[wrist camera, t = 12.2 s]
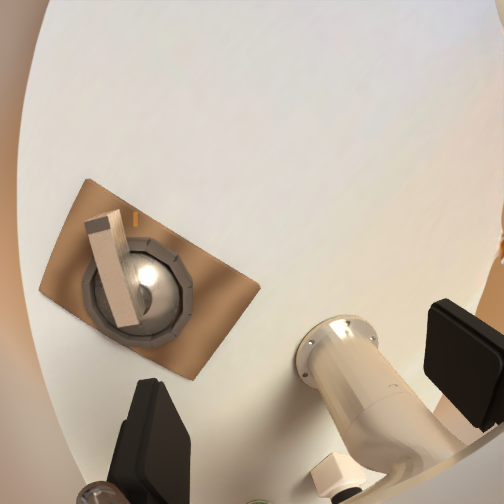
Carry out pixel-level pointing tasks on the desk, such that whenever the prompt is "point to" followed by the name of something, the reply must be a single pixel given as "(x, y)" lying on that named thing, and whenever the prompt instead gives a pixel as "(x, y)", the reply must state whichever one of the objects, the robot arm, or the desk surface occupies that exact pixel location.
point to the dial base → (170, 252)
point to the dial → (130, 280)
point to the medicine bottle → (338, 477)
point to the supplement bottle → (258, 502)
